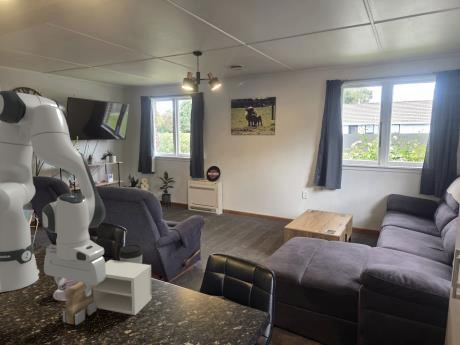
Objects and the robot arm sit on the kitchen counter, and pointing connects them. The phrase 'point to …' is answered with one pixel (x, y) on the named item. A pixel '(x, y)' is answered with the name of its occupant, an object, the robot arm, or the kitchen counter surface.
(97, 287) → the cabinet
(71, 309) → the door
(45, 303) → the kitchen counter surface
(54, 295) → the teacup
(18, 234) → the robot arm
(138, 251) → the coffee cup
